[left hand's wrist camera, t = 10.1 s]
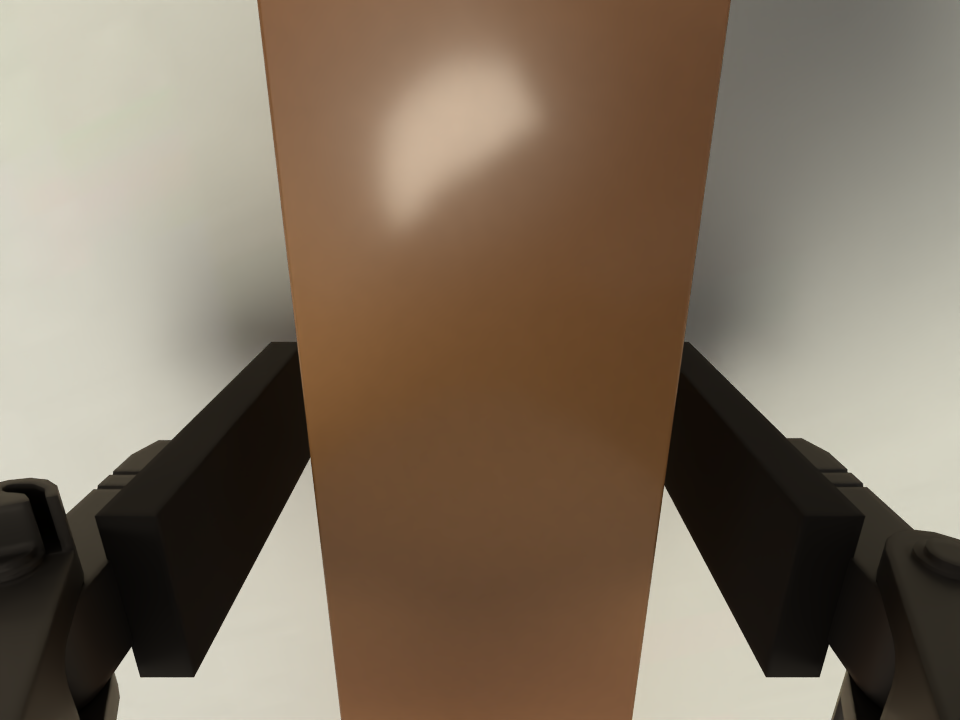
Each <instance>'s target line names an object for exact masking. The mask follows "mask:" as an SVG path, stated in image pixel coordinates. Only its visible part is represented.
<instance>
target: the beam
mask: <svg viewBox="0 0 960 720" xmlns="http://www.w3.org/2000/svg"><path fill="white" fill-rule="evenodd" d="M257 3H258V11H259V20H260V28H261V37H262V45H263V54H264V63H265V71H266V80H267V88H268V97H269V105H270V114H271V123H272V131H273V140H274V148H275V157H276V165H277V174H278V183H279V191H280V200H281V208H282V217H283V225H284V234H285V243H286V251H287V260H288V268H289V277H290V285H291V294H292V303H293V311H294V320H295V328H296V337H297V345H298V354H299V363H300V371H301V380H302V388H303V397H304V405H305V414H306V423H307V431H308V440H309V448H310V457H311V466H312V474H313V483H314V491H315V500H316V508H317V517H318V526H319V534H320V543H321V551H322V560H323V568H324V577H325V586H326V594H327V603H328V611H329V620H330V628H331V637H332V646H333V654H334V663H335V671H336V680H337V688H338V697H339V706H340V714H341V720H632V716H633V708H634V701H635V694H636V686H637V679H638V672H639V665H640V657H641V650H642V643H643V636H644V628H645V621H646V614H647V606H648V599H649V592H650V585H651V577H652V570H653V563H654V556H655V548H656V541H657V534H658V526H659V519H660V512H661V505H662V497H663V490H664V483H665V475H666V468H667V461H668V454H669V446H670V439H671V432H672V425H673V417H674V410H675V403H676V395H677V388H678V381H679V374H680V366H681V359H682V352H683V344H684V337H685V330H686V323H687V315H688V308H689V301H690V294H691V286H692V279H693V272H694V264H695V257H696V250H697V243H698V235H699V228H700V221H701V214H702V206H703V199H704V192H705V184H706V177H707V170H708V163H709V155H710V148H711V141H712V133H713V126H714V119H715V112H716V104H717V97H718V90H719V83H720V75H721V68H722V61H723V53H724V46H725V39H726V32H727V24H728V17H729V10H730V3H731V0H257Z"/></svg>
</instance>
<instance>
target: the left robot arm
mask: <svg viewBox="0 0 960 720" xmlns="http://www.w3.org/2000/svg"><path fill="white" fill-rule="evenodd" d="M309 459H310V448H309V440H308V431H307V423H306V414H305V405H304V397H303V388H302V380H301V371H300V363H299V354H298V345H297V342H271V343H270V344H269V345H268V346H267V347H266V348H265V349H264V350H263V351H262V352H261V353H260V354H259V355H258V356H257V357H256V358H255V359H254V360H253V361H252V362H251V363H249V364H248V365H247V366H246V367H245V368H244V369H243V370H242V371H241V372H240V373H239V374H238V375H237V376H236V377H235V378H234V379H233V380H232V381H231V382H230V383H229V384H228V385H227V386H226V387H225V388H224V389H223V390H222V391H221V392H220V393H219V394H218V395H217V396H216V397H215V398H214V399H213V400H212V401H211V402H210V403H209V404H208V405H207V406H206V407H205V408H204V409H203V410H202V411H201V412H200V413H199V414H198V415H197V416H196V417H195V418H194V419H193V420H192V421H191V422H190V423H189V424H187V425H186V426H185V427H184V428H183V429H182V430H181V431H180V432H179V433H178V434H177V435H176V436H175V437H174V438H173V439H172V440H158V441H156V442H155V443H153V444H151V445H149V446H147V447H145V448H143V449H141V450H140V451H138V452H136V453H134V454H132V455H131V456H130V457H129V458H127V459H126V460H125V461H124V462H123V463H122V464H121V465H120V466H119V467H118V468H117V469H115V470H114V471H113V475H109V476H108V477H107V478H106V479H104V480H103V481H102V482H101V483H100V484H99V485H98V488H97V489H94V490H92V491H91V492H90V493H89V494H88V495H87V496H86V497H85V498H84V499H83V500H81V501H80V502H79V503H78V504H77V505H76V506H75V507H74V508H73V509H72V510H71V511H69V512H68V513H67V514H66V513H65V510H64V507H63V503H62V500H61V497H60V494H59V490H58V487H57V485H55V484H54V483H52V482H50V481H49V480H45V479H36V478H24V479H15V480H7V481H3V482H0V720H116V719H117V712H118V706H119V699H120V696H119V688H118V683H117V680H116V677H115V673H114V672H115V670H116V669H117V667H118V666H119V664H120V663H121V661H122V660H123V658H124V657H125V655H126V654H127V652H128V651H129V650H130V648H131V647H132V649H133V653H134V656H135V660H136V663H137V667H138V670H139V674H140V677H194V676H195V674H196V672H197V671H198V669H199V667H200V665H201V663H202V661H203V659H204V657H205V655H206V654H207V652H208V650H209V648H210V646H211V644H212V642H213V640H214V638H215V637H216V635H217V633H218V631H219V629H220V627H221V625H222V623H223V621H224V620H225V618H226V616H227V614H228V612H229V610H230V608H231V606H232V604H233V602H234V601H235V599H236V597H237V595H238V593H239V591H240V589H241V587H242V585H243V584H244V582H245V580H246V578H247V576H248V574H249V572H250V570H251V568H252V567H253V565H254V563H255V561H256V559H257V557H258V555H259V553H260V551H261V550H262V548H263V546H264V544H265V542H266V540H267V538H268V536H269V534H270V533H271V531H272V529H273V527H274V525H275V523H276V521H277V519H278V517H279V516H280V514H281V512H282V510H283V508H284V506H285V504H286V502H287V500H288V499H289V497H290V495H291V493H292V491H293V489H294V487H295V485H296V483H297V482H298V480H299V478H300V476H301V474H302V472H303V470H304V468H305V466H306V465H307V463H308V461H309ZM664 485H665V487H666V489H667V491H668V493H669V495H670V497H671V499H672V500H673V502H674V504H675V506H676V508H677V510H678V512H679V514H680V516H681V517H682V519H683V521H684V523H685V525H686V527H687V529H688V531H689V533H690V534H691V536H692V538H693V540H694V542H695V544H696V546H697V548H698V550H699V551H700V553H701V555H702V557H703V559H704V561H705V563H706V565H707V567H708V569H709V570H710V572H711V574H712V576H713V578H714V580H715V582H716V584H717V586H718V587H719V589H720V591H721V593H722V595H723V597H724V599H725V601H726V603H727V604H728V606H729V608H730V610H731V612H732V614H733V616H734V618H735V620H736V621H737V623H738V625H739V627H740V629H741V631H742V633H743V635H744V637H745V638H746V640H747V642H748V644H749V646H750V648H751V650H752V652H753V654H754V655H755V657H756V659H757V661H758V663H759V665H760V667H761V669H762V671H763V672H764V674H765V676H766V677H820V674H821V670H822V667H823V663H824V660H825V656H826V653H827V649H828V646H829V645H830V646H831V648H832V649H833V651H834V652H835V654H836V655H837V657H838V658H839V659H840V661H841V662H842V664H843V665H844V667H845V668H846V673H845V677H844V680H843V683H842V686H841V690H840V693H839V696H838V699H837V703H836V706H835V709H834V712H833V716H832V719H831V720H960V540H959V539H956V538H952V537H949V536H946V535H942V534H939V533H935V532H929V531H920V530H914V529H913V528H912V527H910V526H909V525H908V524H907V523H906V522H905V521H904V520H903V519H902V518H900V517H899V516H898V515H897V514H896V513H895V512H894V511H893V510H892V509H891V508H889V507H888V506H887V505H886V504H885V503H884V502H883V501H882V500H881V499H879V498H878V497H877V496H876V495H875V494H874V493H873V492H872V491H871V490H870V489H868V488H867V487H863V483H862V482H861V481H860V480H859V479H857V478H856V477H855V476H854V475H853V474H852V473H848V472H847V469H846V468H845V467H844V466H843V465H842V464H841V463H840V462H839V461H838V460H836V459H835V458H834V457H833V456H832V455H831V454H830V453H829V452H827V451H825V450H823V449H821V448H819V447H817V446H815V445H813V444H812V443H810V442H808V441H806V440H804V439H802V438H786V437H785V436H784V435H783V434H782V433H781V432H780V431H779V430H778V429H777V428H776V427H775V426H774V425H772V424H771V423H770V422H769V421H768V420H767V419H766V418H765V417H764V416H763V415H762V414H761V413H760V412H759V411H758V410H757V409H756V408H755V407H754V406H753V405H752V404H751V403H750V402H749V401H748V400H747V399H746V398H745V397H744V396H743V395H742V394H741V393H740V392H739V391H738V390H737V389H736V388H735V387H734V386H733V385H732V384H731V383H730V382H729V381H728V380H727V379H726V378H725V377H724V376H723V375H722V374H721V373H720V372H719V371H718V370H717V369H716V368H715V367H714V366H713V365H712V364H710V363H709V362H708V361H707V360H706V359H705V358H704V357H703V356H702V355H701V354H700V353H699V352H698V351H697V350H696V349H695V348H694V347H693V346H692V345H691V344H690V343H689V342H684V344H683V352H682V359H681V366H680V374H679V381H678V388H677V395H676V403H675V410H674V417H673V425H672V432H671V439H670V446H669V454H668V461H667V468H666V475H665V483H664Z"/></svg>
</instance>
